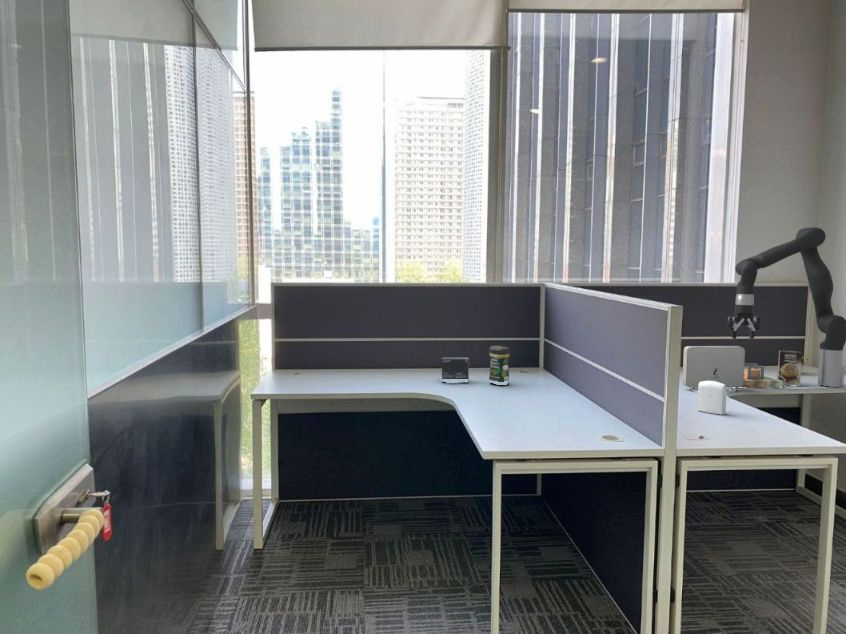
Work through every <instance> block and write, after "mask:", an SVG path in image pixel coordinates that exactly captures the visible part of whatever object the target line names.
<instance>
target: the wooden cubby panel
mask: <svg viewBox="0 0 846 634" xmlns="http://www.w3.org/2000/svg"><path fill="white" fill-rule="evenodd" d="M760 377H761V374H760ZM742 387H747V388H746V389H781V388H780V387H782V388H783V381H781V380H779V379H778V378H776V377H774V376H771V375H768V374H764V380H750V379H747V378H745V377H744V381H743V386H742Z"/></svg>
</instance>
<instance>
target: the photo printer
mask: <svg viewBox="0 0 846 634" xmlns="http://www.w3.org/2000/svg"><path fill="white" fill-rule="evenodd" d="M697 390H698V392H697V411H698V412H701V411H702V412H701V413H708V414H716V415H721V416H725V415H726V407H727V392H726V391H727V389H726V385H724V384H722V383H719V382H716V381H702V382H700V383H699V385H698V389H697Z"/></svg>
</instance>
